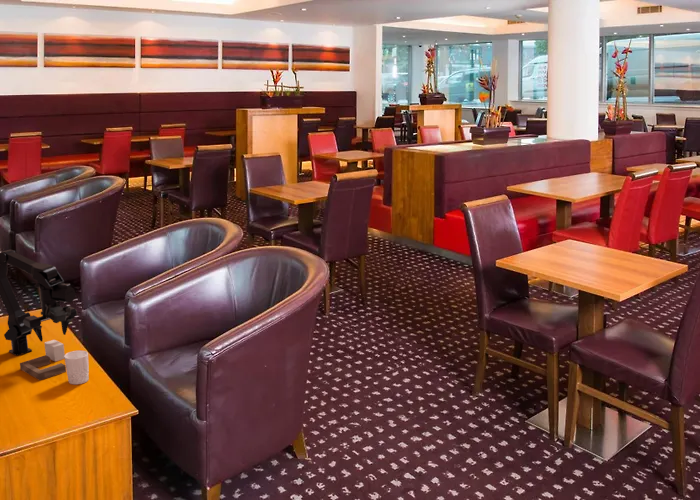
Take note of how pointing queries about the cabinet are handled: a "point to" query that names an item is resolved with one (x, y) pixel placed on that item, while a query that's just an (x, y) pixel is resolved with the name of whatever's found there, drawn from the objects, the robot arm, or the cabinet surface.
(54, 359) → the block
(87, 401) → the cabinet surface
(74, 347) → the cabinet surface
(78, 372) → the white cup
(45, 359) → the notched board
